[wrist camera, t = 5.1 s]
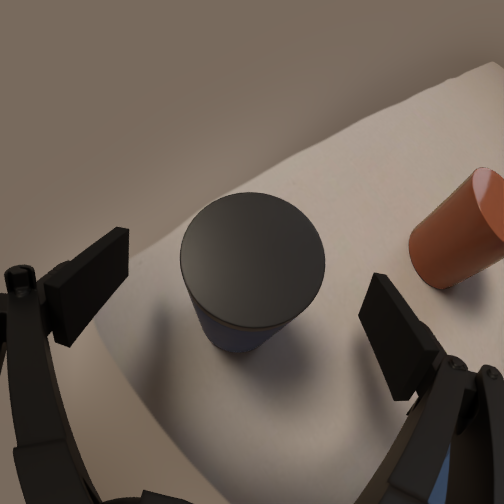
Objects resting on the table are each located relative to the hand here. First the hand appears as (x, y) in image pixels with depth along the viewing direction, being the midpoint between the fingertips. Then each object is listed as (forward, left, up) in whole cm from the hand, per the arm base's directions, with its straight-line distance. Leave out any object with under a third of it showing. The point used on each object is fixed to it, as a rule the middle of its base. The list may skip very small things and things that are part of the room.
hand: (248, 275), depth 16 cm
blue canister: (0, -1, -6) cm, 6 cm away
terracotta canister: (+16, +6, -6) cm, 19 cm away
